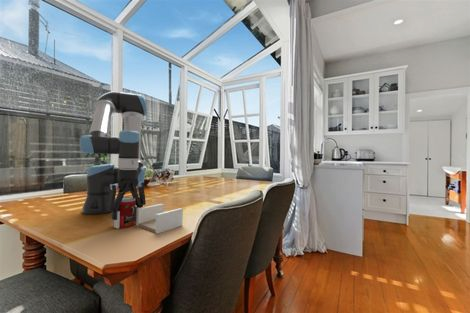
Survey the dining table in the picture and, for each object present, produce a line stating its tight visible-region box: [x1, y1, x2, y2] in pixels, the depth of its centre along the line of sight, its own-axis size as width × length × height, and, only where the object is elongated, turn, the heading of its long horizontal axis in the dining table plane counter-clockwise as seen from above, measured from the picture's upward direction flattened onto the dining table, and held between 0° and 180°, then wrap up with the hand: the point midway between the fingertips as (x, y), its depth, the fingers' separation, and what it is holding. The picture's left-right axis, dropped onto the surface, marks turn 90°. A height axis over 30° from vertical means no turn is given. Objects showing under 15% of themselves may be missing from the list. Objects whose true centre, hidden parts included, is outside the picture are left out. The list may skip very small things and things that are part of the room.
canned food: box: [115, 196, 137, 229], centre depth 90 cm, size 8×8×11 cm
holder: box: [135, 203, 184, 234], centre depth 91 cm, size 14×12×7 cm
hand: (126, 224), depth 89 cm, fingers closed on canned food, 8 cm apart
